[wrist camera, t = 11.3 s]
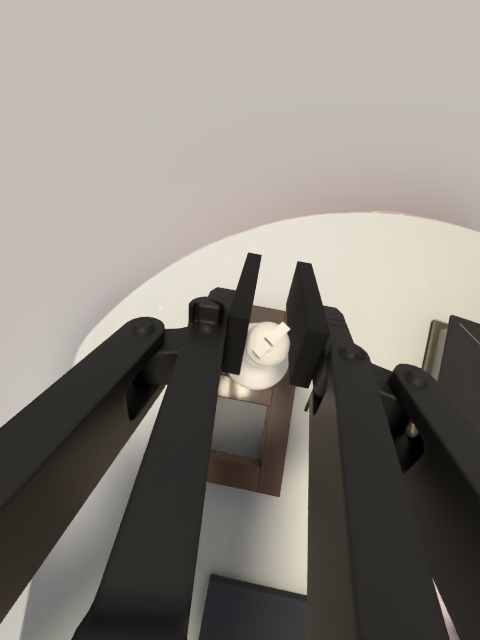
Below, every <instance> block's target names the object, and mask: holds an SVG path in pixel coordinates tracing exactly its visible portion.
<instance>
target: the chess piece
mask: <svg viewBox="0 0 480 640" xmlns="http://www.w3.org/2000/svg"><path fill="white" fill-rule="evenodd" d="M289 330H290V328H289V327H288V326H287V325H286V324H285V323H284V322H282V323H281V324H279V325H278V324H276V323H273V322H261V323H250V324H249V328H248V333H247V338H246V344H245V349H244V354H243V360H242V365H241V370H240V375H235V374H230V373H228V374H229V375H230V377H231V378H232V379H233V380H234V381H235V382H236V383H237V384H239V385H240V386H242V387H245V388H248V389H252V390H262V389H266V388H269V387H271V386H273V385H275V384H276V383H278V382H279V381H280V380H281V379H282V377H283V376H284V375H285V373H286V371H287V369H288V352H289V347H290V340H289V337H288V334H287V332H288V331H289Z"/></svg>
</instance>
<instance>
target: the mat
mask: <svg viewBox="0 0 480 640" xmlns="http://www.w3.org/2000/svg"><path fill="white" fill-rule="evenodd" d="M199 640H307V596H304V595H300V594H296V593H291V592H287V591H282V590H278V589H273V588H269V587H265V586H260V585H256V584H251V583H247V582H242V581H238V580H234V579H229V578H225V577H220V576H216V575H210V580H209V586H208V591H207V597H206V602H205V608H204V613H203V619H202V624H201V630H200V635H199Z"/></svg>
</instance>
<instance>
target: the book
mask: <svg viewBox="0 0 480 640" xmlns="http://www.w3.org/2000/svg"><path fill="white" fill-rule="evenodd" d="M422 369H423V370H424V371H426V372H427V373H429V374H430V375H431V376H432V377H433V378H434V379H435V380H436V381H437V382H438V383H439V384H440V385H441V387H442V388H443V389H444V390H445V391H446V392H447V394H448V395H449V396H450V397H451V398H452V400H453V401H454V402H455V403H456V404H457V406H458V407H459V408H460V409H461V410H462V411H463V413H464V414H465V415H466V416H467V417H468V419H469V420H470V421H471V422H472V423H473V425H474V426H475V427H476V428H477V429H478V430H479V432H480V324H479V323H476V322H472V321H469V320H466V319H463V318H460V317H457V316H454V315H451V316H450V318H449V323H448V325H447V324H444V323H441V322H438V321H435V320H433V321H432V324H431V329H430V334H429V339H428V344H427V348H426V353H425V358H424V363H423V368H422ZM410 431H411V433H412V434H413V435H414V436H416V435H417V434H418V433H419V432H418V430H417V429H416V427H415V426H414V424H412V426H411V427H410Z"/></svg>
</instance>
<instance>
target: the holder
mask: <svg viewBox="0 0 480 640" xmlns="http://www.w3.org/2000/svg"><path fill="white" fill-rule="evenodd" d="M261 322H273V323H276V324H278V325H279V324H281V323H282V322H284V323H285V324H286V325H287V312H285V311H281V310H276V309H270V308H265V307H259V306H254V305H253V306H252V311H251V317H250V322H249V324H250V323H261ZM294 393H295V386H293V385H289V367H288V369H287V371H286V373H285V375H284V376H283V377H282V379H281V380H280V381H279V382H278V383H276V384H275V385H273V386H271V387H269V388H266V389H262V390H252V389H248V388H245V387H242V386H240V385H239V384H237V383H236V382H235V381H234V380H233V379H232V378H231V377H230V376H228V375H223V374H221V371H220V379H219V387H218V395H217V396H220V397H225V398H230V399H235V400H240V401H245V402H250V403H255V404H260V405H265V406H268V408H267V414H266V420H265V426H264V433H263V439H262V445H261V451H260V457H259V460H257V459H253V458H248V457H243V456H238V455H233V454H228V453H224V452H219V451H214V450H210V458H209V466H208V474H207V482H211V483H216V484H220V485H225V486H230V487H234V488H239V489H244V490H249V491H253V492H258V493H263V494H267V495H272V496H277V497H280V490H281V483H282V476H283V469H284V462H285V455H286V448H287V441H288V435H289V428H290V421H291V414H292V407H293V400H294Z"/></svg>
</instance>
